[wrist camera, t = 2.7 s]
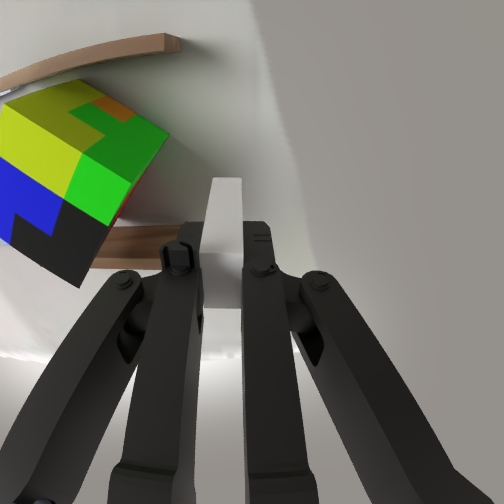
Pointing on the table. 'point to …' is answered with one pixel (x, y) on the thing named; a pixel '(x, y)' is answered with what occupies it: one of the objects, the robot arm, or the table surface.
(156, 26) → the table surface
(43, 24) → the table surface
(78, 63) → the channel
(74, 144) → the puzzle toy
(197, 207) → the table surface
